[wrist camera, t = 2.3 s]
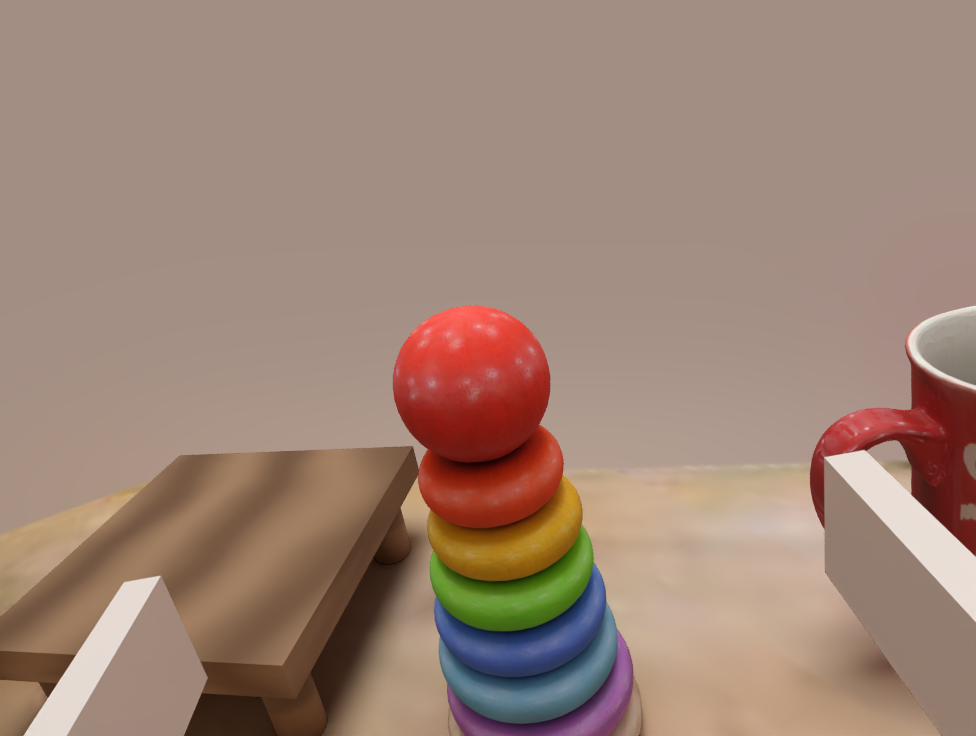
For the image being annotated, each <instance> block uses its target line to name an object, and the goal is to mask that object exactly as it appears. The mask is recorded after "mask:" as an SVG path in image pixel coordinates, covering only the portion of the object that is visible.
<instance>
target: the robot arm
mask: <svg viewBox="0 0 976 736" xmlns="http://www.w3.org/2000/svg"><path fill="white" fill-rule="evenodd" d="M824 513H825V573H826V574H827V576H828V577H829V579H830V580H831V581H832V583H833V584H834V586H835V587H836V588H837V590H838V591H839V593H840V594H841V595H842V597H843V598H844V600H845V601H846V602H847V604H848V605H849V607H850V608H851V609H852V611H853V612H854V614H855V615H856V616H857V618H858V619H859V621H860V622H861V623H862V625H863V626H864V628H865V629H866V630H867V632H868V633H869V635H870V636H871V637H872V639H873V640H874V642H875V643H876V644H877V646H878V647H879V649H880V650H881V651H882V653H883V654H884V656H885V657H886V658H887V660H888V661H889V663H890V664H891V666H892V667H893V668H894V670H895V671H896V673H897V674H898V675H899V677H900V678H901V680H902V681H903V682H904V684H905V685H906V687H907V688H908V689H909V691H910V692H911V694H912V695H913V696H914V698H915V699H916V701H917V702H918V703H919V705H920V706H921V708H922V709H923V710H924V712H925V713H926V715H927V716H928V717H929V719H930V720H931V722H932V723H933V724H934V726H935V727H936V729H937V730H938V731H939V733H940V734H941V736H976V557H975V556H974V555H973V554H972V553H971V552H970V551H969V550H968V549H967V548H966V547H965V546H964V545H963V544H962V543H961V542H960V541H959V540H958V539H957V538H956V537H954V536H953V535H952V534H951V533H950V532H949V531H948V530H947V529H946V528H945V527H944V526H943V525H942V524H941V523H940V522H939V521H938V520H937V519H936V518H935V517H934V516H933V515H932V514H931V513H929V512H928V511H927V510H926V509H925V508H924V507H923V506H922V505H921V504H920V503H919V502H918V501H917V500H916V499H915V498H914V497H913V496H912V495H911V494H910V493H909V492H908V491H907V490H906V489H904V488H903V487H902V486H901V485H900V484H899V483H898V482H897V481H896V480H895V479H894V478H893V477H892V476H891V475H890V474H889V473H888V472H887V471H886V470H885V469H884V468H883V467H882V466H881V465H879V464H878V463H877V462H876V461H875V460H874V459H873V458H872V457H871V456H870V455H869V454H868V453H867V452H866V451H865V450H862V451H857V452H851V453H845V454H840V455H834V456H829V457H824ZM207 679H208V677H207V675H206V673H205V671H204V669H203V666H202V664H201V662H200V660H199V658H198V655H197V653H196V651H195V649H194V647H193V645H192V642H191V640H190V638H189V636H188V634H187V631H186V629H185V627H184V625H183V623H182V620H181V618H180V616H179V614H178V612H177V609H176V607H175V605H174V603H173V601H172V599H171V596H170V594H169V592H168V590H167V588H166V585H165V583H164V581H163V579H162V577H161V576H156V577H150V578H145V579H139V580H133V581H128V582H124V583H123V584H122V586H121V587H120V589H119V590H118V592H117V594H116V595H115V597H114V598H113V600H112V601H111V603H110V604H109V606H108V607H107V609H106V610H105V612H104V613H103V615H102V616H101V618H100V620H99V621H98V623H97V624H96V626H95V627H94V629H93V630H92V632H91V633H90V635H89V636H88V638H87V639H86V641H85V642H84V644H83V646H82V647H81V649H80V650H79V652H78V653H77V655H76V656H75V658H74V659H73V661H72V662H71V664H70V665H69V667H68V668H67V670H66V672H65V673H64V675H63V676H62V678H61V679H60V681H59V682H58V684H57V685H56V687H55V688H54V690H53V691H52V693H51V695H50V696H49V698H48V699H47V701H46V702H45V704H44V705H43V707H42V708H41V710H40V711H39V713H38V714H37V716H36V717H35V719H34V721H33V722H32V724H31V725H30V727H29V728H28V730H27V731H26V733H25V734H24V736H184V734H185V732H186V729H187V727H188V724H189V722H190V720H191V717H192V715H193V712H194V710H195V708H196V705H197V703H198V700H199V698H200V696H201V693H202V691H203V688H204V686H205V683H206V681H207Z"/></svg>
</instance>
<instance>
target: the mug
mask: <svg viewBox="0 0 976 736" xmlns="http://www.w3.org/2000/svg"><path fill="white" fill-rule="evenodd" d="M905 349H906V353H907V356H908V358H909V360H910V363H911V370H912V371H911V374H912V375H911V376H912V377H911V388H912V408H911V410H897V409H889V408H871V409H864V410H859V411H856V412H854V413H851V414H849V415H846V416H844V417H843V418H841V419H839V420H838V421H837V422H835V423H834V424H833V425H831V426H830V427H829V428H828V429H827V430H826V431H825V433H824V434H823V435H822V437H821V439H820V440H819V442H818V444H817V446H816V448H815V451H814V454H813V458H812V462H811V470H810V488H811V494H812V500H813V503H814V507H815V510H816V513H817V515H818V518H819V520H820V522H821V524H822V526H823V528H824V529H825V513H824V457H829V456H834V455H840V454H845V453H851V452H857V451H862V450H865V451H867V450H868V449H870V448H871V447H873V446H875V445H877V444H880V443H883V442H886V441H892V440H897V441H899V442H900V443H901V445H902V446H903V448H904V450H905V452H906V455H907V458H908V461H909V462H910V464H911V466H912V479H911V489H912V492H911V495H912V496H913V497H914V498H915V499H916V500H917V501H918V502H919V503H920V504H921V505H922V506H923V507H924V508H925V509H926V510H927V511H928V512H929V513H931V514H932V515H933V516H934V517H935V518H936V519H937V520H938V521H939V522H940V523H941V524H942V525H943V526H944V527H945V528H946V529H947V530H948V531H949V532H950V533H951V534H952V535H953V536H954V537H956V538H957V539H958V540H959V541H960V542H961V543H962V544H963V545H964V546H965V547H966V548H967V549H968V550H969V551H970V552H971V553H972V554H973V555H974V556H975V557H976V306H971V307H967V308H962V309H956V310H953V311H949V312H945V313H942V314H939V315H937V316H934V317H931V318H929V319H927V320H925V321H923V322H921V323H920V324H918V325H916V326H915V328H913V329H912V331H911V332H910V333H909V334H908V336H907V338H906V341H905Z"/></svg>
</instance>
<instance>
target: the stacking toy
mask: <svg viewBox="0 0 976 736" xmlns="http://www.w3.org/2000/svg"><path fill="white" fill-rule="evenodd" d="M393 391H394V399H395V403H396V406H397V409H398V412H399V414H400V416H401V418H402V420H403V422H404V424H405V426H406V427H407V429H408V430H409V432H410V433H411V434H412V435H413V436H414V437H415V438H416V439H417V440H418V441H419V442H420V443H421V444H422V445H423V446H424V447H426V448H427V449H428V450H427V451H426V453H425V455H424V457H423V459H422V462H421V464H420V468H419V472H418V483H419V488H420V492H421V495H422V497H423V499H424V501H425V502H426V504H427V506H428V507H429V508H430V509H431V510H430V513H429V516H428V526H427V529H428V537H429V540H430V544H431V546H432V548H433V550H434V551H433V553H432V557H431V561H430V579H431V583H432V587H433V590H434V592H435V594H436V599H435V607H434V613H435V622H436V626H437V630H438V632H439V634H440V640H439V657H440V664H441V668H442V671H443V674H444V677H445V679H446V681H447V694H448V702H449V705H450V708H449V717H448V723H449V733H450V736H639V734H640V729H641V722H642V705H641V697H640V692H639V688H638V685H637V682H636V680H635V678H634V675H633V664H632V659H631V656H630V652H629V649H628V647H627V644H626V642H625V640H624V639H623V637H622V635H621V634H620V632H619V631H618V630H617V628H616V623H615V619H614V616H613V614H612V611H611V609H610V607H609V605H608V604H607V602H606V590H605V585H604V582H603V579H602V576H601V574H600V572H599V570H598V568H597V566H596V565H595V563H594V562H593V559H594V557H593V549H592V544H591V540H590V537H589V535H588V533H587V531H586V529H585V528H584V527H583V525H582V504H581V501H580V497H579V495H578V493H577V490H576V489H575V487H574V486H573V485H572V484H571V483H570V481H569V480H568V479H567V478H566V477H564V476H563V464H564V463H563V456H562V452H561V449H560V446H559V444H558V442H557V440H556V439H555V438H554V437H553V435H552V434H551V433H550V432H549V431H548V430H546V429H545V428H544V427H542V426H541V425H539V424H540V421H541V420H542V418H543V416H544V413H545V411H546V408H547V405H548V400H549V395H550V372H549V367H548V363H547V360H546V357H545V354H544V351H543V349H542V347H541V345H540V343H539V342H538V340H537V338H536V337H535V336H534V335H533V333H532V332H531V331H530V330H529V329H528V328H527V327H526V326H525V325H524V324H523V323H521V322H520V321H519V320H517V319H515V318H514V317H512V316H510V315H509V314H507V313H505V312H502V311H499V310H496V309H493V308H490V307H483V306H476V305H475V306H464V307H456V308H452V309H449V310H446V311H443V312H441V313H439V314H436V315H434V316H432V317H431V318H429V319H427V320H426V321H424V322H423V323H422V324H421V325H419V326H418V327H417V328H416V329H415V330H414V331H413V332H412V333H411V335H410V336H409V337H408V339H407V340H406V342H405V343H404V344H403V346H402V348H401V350H400V353H399V355H398V357H397V360H396V364H395V367H394V373H393Z"/></svg>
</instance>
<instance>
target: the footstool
mask: <svg viewBox="0 0 976 736" xmlns="http://www.w3.org/2000/svg"><path fill="white" fill-rule="evenodd" d="M418 472H419V469H418V465H417V461H416V457H415V453H414V449H413V447H412V446H406V447H384V448H358V449H357V448H356V449H331V450H308V451H307V450H306V451H281V452H257V453H234V454H208V455H184V456H183V455H182V456H179V457H177V458H176V459H175V460H174V461H173V462H172V463H171V464H170V465H169V466H167V468H165V469H164V470H163V471H162V472H161V473H160V474H159V475H157V476H156V477H155V478H154V479H153V480H152V481H151V482H150V483H149V484H148V485H146V486H145V487H144V488H143V489H142V490H141V491H140V492H139V493H138V494H136V495H135V496H134V497H133V498H132V499H131V500H130V501H129V502H128V503H126V504H125V505H124V506H123V507H122V508H121V509H120V510H119V511H118V512H116V513H115V514H114V515H113V516H112V517H111V518H110V519H109V520H108V521H106V522H105V523H104V524H103V525H102V526H101V527H100V528H99V529H98V530H97V531H95V532H94V533H93V534H92V535H91V536H90V537H89V538H88V539H87V540H85V541H84V542H83V543H82V544H81V545H80V546H79V547H78V548H77V549H75V550H74V551H73V552H72V553H71V554H70V555H69V556H68V557H67V558H65V559H64V560H63V561H62V562H61V563H60V564H59V565H58V566H57V567H55V568H54V569H53V570H52V571H51V572H50V573H49V574H48V575H47V576H45V577H44V578H43V579H42V580H41V581H40V582H39V583H38V584H37V585H36V586H34V587H33V588H32V589H31V590H30V591H29V592H28V593H27V594H26V595H24V596H23V597H22V598H21V599H20V600H19V601H18V602H17V603H16V604H14V605H13V606H12V607H11V608H10V609H9V610H8V611H7V612H6V613H4V614H3V615H2V616H1V617H0V680H15V681H30V682H39V684H40V685H41V687H42V689H43V690H44V692H45V694H46V696H47V697H48V698H49V696H50V695H51V693H52V691H53V690H54V688H55V687H56V685H57V684H58V682H59V681H60V679H61V678H62V676H63V675H64V673H65V672H66V670H67V668H68V667H69V665H70V664H71V662H72V661H73V659H74V658H75V656H76V655H77V653H78V652H79V650H80V649H81V647H82V646H83V644H84V642H85V641H86V639H87V638H88V636H89V635H90V633H91V632H92V630H93V629H94V627H95V626H96V624H97V623H98V621H99V620H100V618H101V616H102V615H103V613H104V612H105V610H106V609H107V607H108V606H109V604H110V603H111V601H112V600H113V598H114V597H115V595H116V594H117V592H118V590H119V589H120V587H121V586H122V584H123V583H124V582H128V581H133V580H139V579H145V578H150V577H156V576H161V577H162V579H163V581H164V583H165V585H166V588H167V590H168V592H169V594H170V596H171V599H172V601H173V603H174V605H175V607H176V609H177V612H178V614H179V616H180V618H181V620H182V623H183V625H184V627H185V629H186V631H187V634H188V636H189V638H190V640H191V642H192V645H193V647H194V649H195V651H196V653H197V655H198V658H199V660H200V662H201V664H202V666H203V669H204V671H205V673H206V675H207V677H208V679H207V681H206V683H205V686H204V688H203V691H202V693H209V694H224V695H239V696H254V697H261V698H262V700H263V703H264V705H265V707H266V710H267V712H268V715H269V717H270V719H271V722H272V724H273V726H274V729H275V731H276V734H277V736H320V735H321V734H322V733H323V731H324V729H325V727H326V724H327V715H326V712H325V709H324V707H323V704H322V701H321V699H320V696H319V693H318V691H317V688H316V686H315V683H314V680H313V678H312V675H311V670H312V668H313V667H314V665H315V663H316V661H317V659H318V657H319V656H320V654H321V652H322V650H323V648H324V646H325V645H326V643H327V641H328V639H329V637H330V635H331V634H332V632H333V630H334V628H335V626H336V624H337V623H338V621H339V619H340V617H341V615H342V614H343V612H344V610H345V608H346V606H347V604H348V603H349V601H350V599H351V597H352V595H353V593H354V592H355V590H356V588H357V586H358V584H359V582H360V581H361V579H362V577H363V575H364V573H365V571H366V570H367V568H368V566H369V564H370V562H371V560H372V559H373V557H374V556H375V559H376V561H377V562H379V563H382V564H393V563H396V562H399V561H401V560H403V559H404V558H405V557H407V556H408V554H409V553H410V551H411V545H410V541H409V537H408V534H407V530H406V526H405V523H404V519H403V515H402V512H401V508H400V507H401V505H402V504H403V502H404V500H405V498H406V496H407V494H408V493H409V491H410V489H411V487H412V485H413V483H414V482H415V480H416V478H417V476H418Z"/></svg>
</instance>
